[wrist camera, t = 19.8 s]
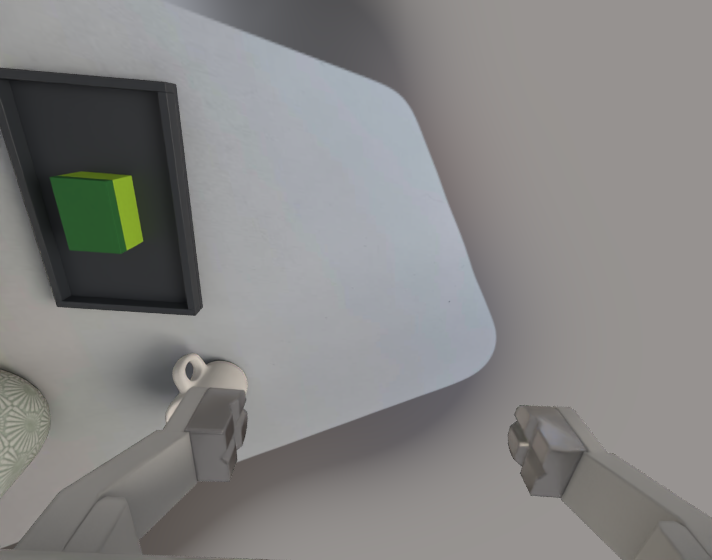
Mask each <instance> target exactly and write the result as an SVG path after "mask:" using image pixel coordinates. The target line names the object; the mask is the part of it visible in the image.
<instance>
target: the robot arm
mask: <svg viewBox="0 0 712 560" xmlns="http://www.w3.org/2000/svg"><path fill="white" fill-rule="evenodd" d="M245 402H246V393H245V391H244V390H237V389H225V388H212V387H210V388H207V387H195V386H192V387H191V388H190V389H188V390H187V392H186V394H185V395H184V397H183V398H182V400H181V401H180V403H179V405H178V406H177V408H176V409H175V411H174V413H173V414H172V416H171V417H170V419H169V421H168V422H167V424H166V425H165V427H164V428H163V430H156V431H155V432H153V433H152V434H150V435H148V436H147V437H145V438H144V439H142V440H141V441H139V442H137V443H136V444H134V445H133V446H131V447H130V448H128V449H126V450H125V451H123V452H122V453H120V454H119V455H117V456H115V457H114V458H112V459H111V460H109V461H107V462H106V463H104V464H103V465H101V466H100V467H98V468H96V469H95V470H93V471H92V472H90V473H89V474H87V475H85V476H84V477H82V478H81V479H79V480H77V481H76V482H74V483H73V484H71V485H70V486H68V487H66V488H65V489H63V490H62V491H60V492H59V493H58V494H57V495H56V497H55V498H54V499H53V500H52V502H51V503H50V504H49V505H48V506H47V508H46V509H45V510H44V511H43V513H42V514H41V515H40V516H39V518H38V519H37V520H36V521H35V523H34V524H33V525H32V526H31V528H30V529H29V530H28V531H27V533H26V534H25V535H24V536H23V538H22V539H21V540H20V541H19V542H18V544H17V545H16V546H15V547H14V549H13V550H12V549H11V550H10V549H0V560H265V559H241V558H240V559H239V558H216V557H189V556H164V555H143V554H142V550H141V547H140V543H139V540H140V539H141V538H142V537H143V536H144V535H145V534H146V533H147V532H148V531H149V530H150V529H151V528H152V527H153V526H154V525H155V524H156V523H157V522H158V521H159V520H160V519H161V518H162V517H163V516H164V515H165V514H166V513H167V512H168V511H169V510H170V509H171V508H173V506H175V505H176V504H177V503H178V502H179V501H180V500H181V499H182V498H183V497H184V496H185V494H187V493H188V492H189V491H190V490H191V489H192V488H193V487H194V486H195V485H196V484H197V481H218V482H219V481H220V482H229V481H230V479H231V476H232V473H233V470H234V467H235V464H236V462H237V452H236V450H238V449H239V448H240V447H241V446H242V444H243V441H244V438H245V434H246V429H247V411H246V410H245V409H244V405H245ZM514 415H515V417H516V419H517V421H516V422H515V423H513V424H512V425H511V426H510V429H509V432H508V446H509V449H510V453H511V455H512V457H513V459H514V460H515V461H516V462H517V463H518V464H520V465H521V466H522V469H521V472H520V474H521V476H522V478H523V480H524V482H525V484H526V487H527V488H528V491H529V493H530V495H531V496H543V497H556V498H561V500H562V501H563V502H564V503H565V504H566V505H567V506H568V507H569V508H570V509H571V510H572V511H573V512H574V513H575V514H576V515H577V516H578V517H579V518H580V519H581V520H582V521H583V522H584V523H585V524H586V525H587V526H588V527H589V528H590V529H591V530H592V531H593V532H594V533H595V534H596V535H597V536H598V537H599V538H600V539H601V540H602V541H604V543H606V545H607V546H608V547H610V548H611V549H612V550H613V551H614V552H615V553H616V554H617V555H618V556H619V557H620V558H621V559H622V560H712V518H711V517H710V516H708V515H707V514H705V513H704V512H702V511H701V510H699V509H698V508H696V507H694V506H693V505H691V504H690V503H688V502H687V501H685V500H684V499H682V498H680V497H679V496H677V495H676V494H674V493H673V492H672V491H670V490H669V489H667V488H665V487H664V486H662V485H661V484H659V483H658V482H656V481H654V480H653V479H652V478H650V477H649V476H647V475H646V474H644V473H643V472H641V471H639V470H638V469H636V468H635V467H633V466H632V465H630V464H629V463H627V462H626V461H624V460H623V459H621V458H619V457H618V456H617V455H615V454H613V453H608V452H607V451H606V450H605V449H604V447H603V446H602V445H601V443H600V442H599V441H598V440H597V438H596V437H595V436H594V434H593V433H592V432H591V430H590V429H589V428H588V427H587V425H586V424H585V423H584V421H583V420H582V419H581V418H580V416H579V415H578V414H577V412H576V411H575V410H574V409H572V408H570V407H554V406H553V407H550V406H529V405H520V406H519V407H517V409H516V411H515V414H514ZM266 560H267V559H266Z"/></svg>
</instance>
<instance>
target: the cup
mask: <svg viewBox="0 0 712 560" xmlns="http://www.w3.org/2000/svg"><path fill="white" fill-rule="evenodd" d="M188 362H190V363H191V364H192V366H193V375H192V377H191V379H190V380H189V379H188V378H187V376H186V373H185V368H186V365H187V363H188ZM172 375H173V380H174V383H175V385H176V386H177V388H178V390H179V392H180V393H179V394H178V395H177V397H176V398H175V399H174V400H173V401H172V403H171V404H170V405H169V407H168V409H167V411H166V416H165V419H166V424H167V422H168V421H169V419H170V417H171V416H172V414H173V413H174V411H175V409H176V408H177V406H178V405H179V403H180V401H181V400H182V398H183V397H184V395H185V394H186V392H187V390H188V389H190V388H191V387H192V386H195V387H207V388H210V387H212V388H225V389H237V390H244V391H245V393H247V385H248V384H247V378H246V376H245V374H244V372H243V371H242V370H241V369H240V368H239V367H238V366H236V365H235V364H233V363H230V362H226V361H214V362H210V363H208V364H205V363H204V361H203V360H202V359H201V357H200V356H198V355H197V354H194V353H190V354H187V355H185V356H183V357H181V358H180V359H179V360H178V361H177V362H176V364H175V366H174V368H173V373H172Z"/></svg>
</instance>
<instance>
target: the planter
mask: <svg viewBox="0 0 712 560" xmlns="http://www.w3.org/2000/svg"><path fill="white" fill-rule="evenodd" d="M50 423H51V416H50V410H49V406H48V404H47V401H46V400H45V398H44V397H43V395H42V394H41V393H40V392H39V391H38V390H37V389H36V388H35V387H34V386H33V385H32V384H31V383H29V382H28V381H26V380H25V379H23V378H21V377H19V376H17V375H15V374H12V373H10V372H7V371H4V370H0V498H1V497H2V496H3V495H4V494H5V492H6V491H7V490H8V489H9V488H10V487H11V485H12V484H13V483H14V482H15V481H16V479H17V478H18V477H19V476H20V475H21V473H22V472H23V471H24V470H25V469H26V468H27V466H28V465H29V464H30V463H31V462H32V460H33V459H34V458H35V456H36V455H37V454H38V452H39V451H40V449H41V447H42V446H43V444H44V442H45V440H46V438H47V435H48V432H49V429H50Z"/></svg>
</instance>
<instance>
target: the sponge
mask: <svg viewBox="0 0 712 560" xmlns="http://www.w3.org/2000/svg"><path fill="white" fill-rule="evenodd" d="M50 181H51V185H52V189H53V192H54V196H55V200H56V203H57V207H58V210H59V214H60V218H61V221H62V225H63V229H64V232H65V236H66V240H67V243H68V247H69V250H73V251H87V252H101V253H115V254H122V253H124V252H125V251H127V250H129V249H131V248H133V247H134V246H136V245H138V244H140V243H142V242H143V237H142V231H141V226H140V220H139V215H138V209H137V204H136V198H135V192H134V187H133V181H132V176H131V175H120V174H107V173H95V172H82V171H81V172H75V173H69V174H64V175H58V176H53V177H50Z"/></svg>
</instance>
